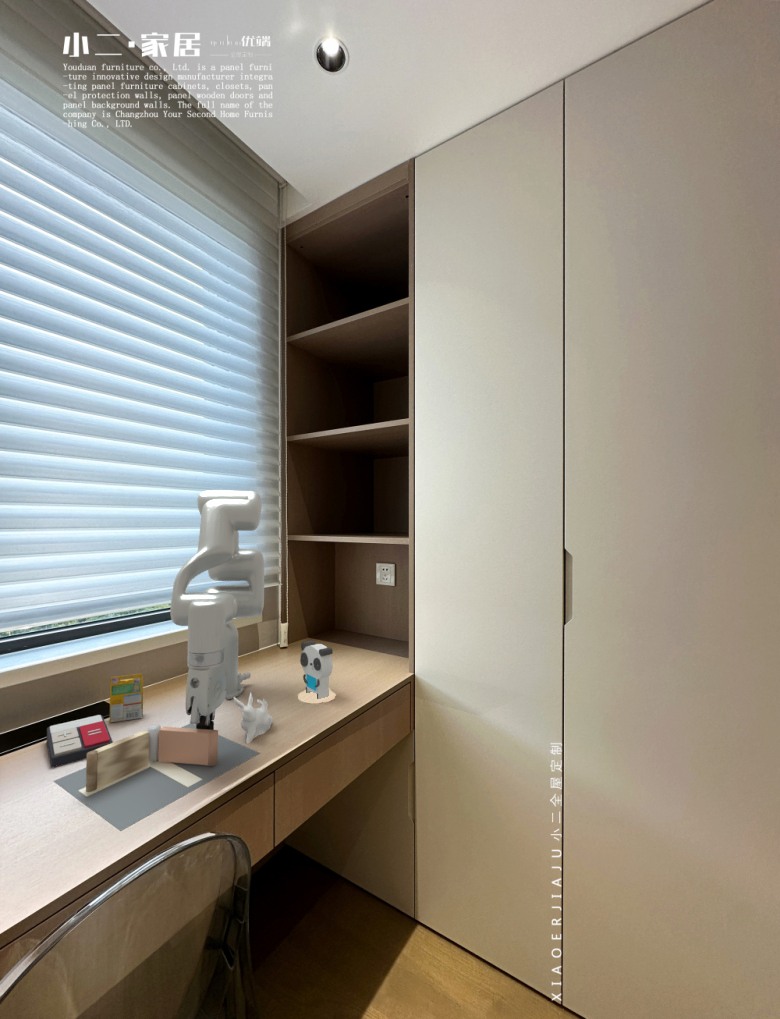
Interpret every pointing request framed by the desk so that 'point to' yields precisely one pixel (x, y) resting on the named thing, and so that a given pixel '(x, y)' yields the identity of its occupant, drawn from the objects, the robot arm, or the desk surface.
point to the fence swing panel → (183, 745)
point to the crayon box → (126, 698)
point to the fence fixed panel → (116, 760)
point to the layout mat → (152, 784)
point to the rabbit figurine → (254, 718)
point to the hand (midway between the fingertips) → (204, 740)
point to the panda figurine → (316, 667)
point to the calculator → (76, 739)
